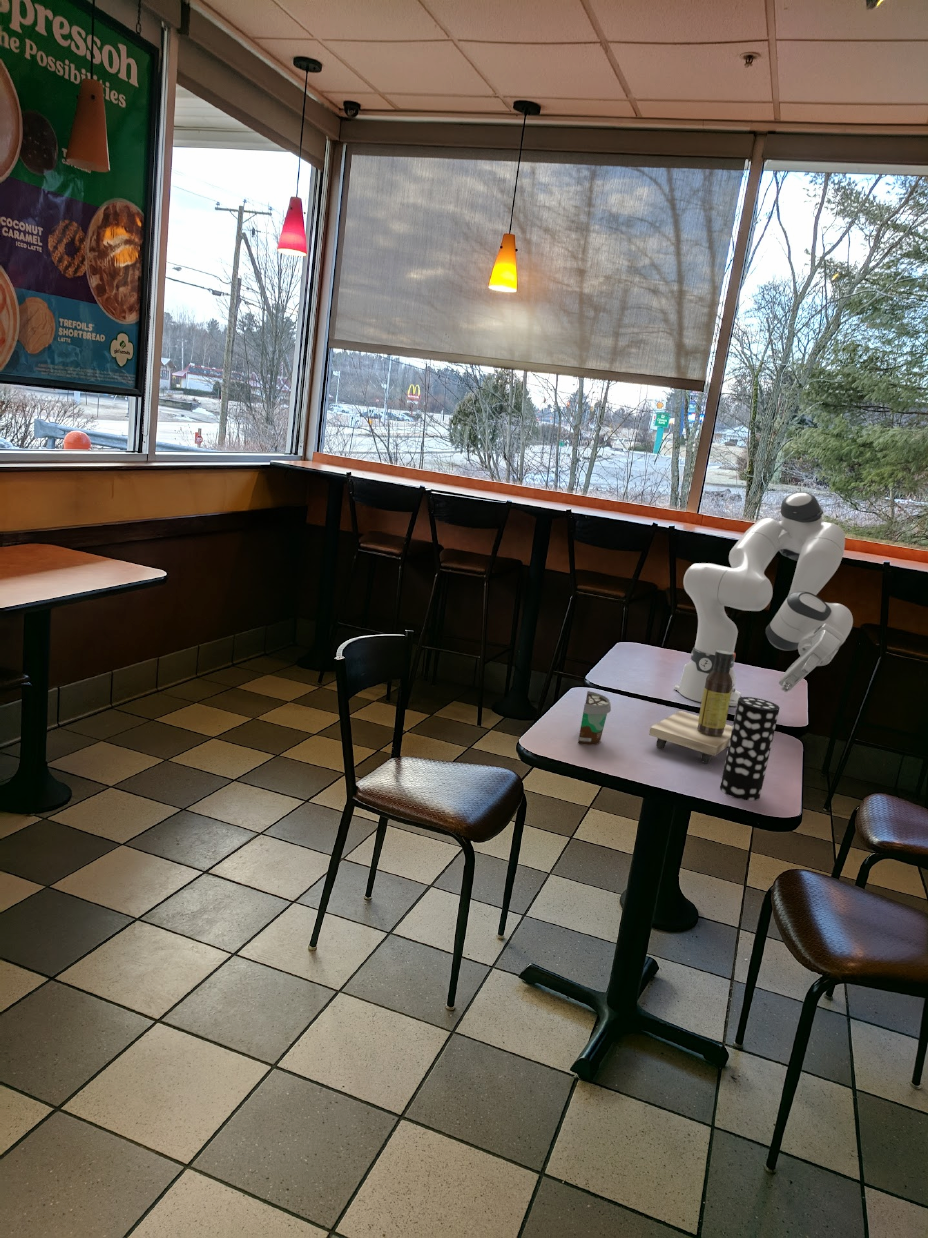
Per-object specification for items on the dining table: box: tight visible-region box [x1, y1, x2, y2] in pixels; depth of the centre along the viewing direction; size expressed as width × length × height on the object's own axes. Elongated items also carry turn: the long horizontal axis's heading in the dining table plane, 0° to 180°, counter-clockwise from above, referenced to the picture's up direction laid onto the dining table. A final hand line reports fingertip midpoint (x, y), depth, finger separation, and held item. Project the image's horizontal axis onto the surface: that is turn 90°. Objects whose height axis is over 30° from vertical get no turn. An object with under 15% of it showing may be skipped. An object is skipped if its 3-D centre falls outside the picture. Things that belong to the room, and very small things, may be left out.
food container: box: [577, 690, 612, 746], centre depth 204 cm, size 12×6×10 cm, turn 168°
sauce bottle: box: [697, 650, 733, 736], centre depth 204 cm, size 6×6×20 cm
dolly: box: [648, 710, 733, 764], centre depth 209 cm, size 20×16×5 cm
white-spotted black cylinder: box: [719, 696, 781, 802], centre depth 182 cm, size 8×8×20 cm
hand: (794, 680), depth 215 cm, fingers open, 8 cm apart
